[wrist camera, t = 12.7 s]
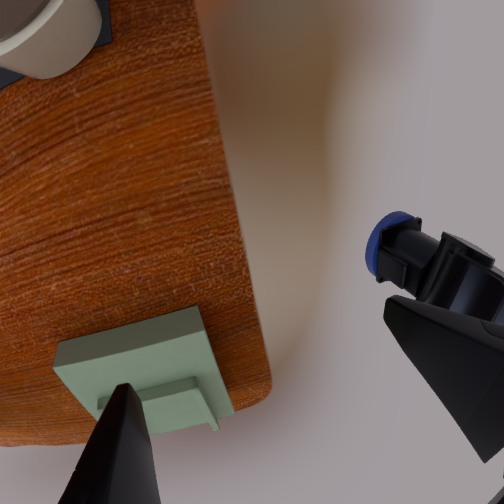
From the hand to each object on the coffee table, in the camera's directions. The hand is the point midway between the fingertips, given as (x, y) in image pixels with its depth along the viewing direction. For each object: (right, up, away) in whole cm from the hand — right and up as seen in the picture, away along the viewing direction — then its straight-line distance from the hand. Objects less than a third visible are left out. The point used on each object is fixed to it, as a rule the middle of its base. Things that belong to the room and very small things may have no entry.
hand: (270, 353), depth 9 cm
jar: (-12, +16, +1) cm, 20 cm away
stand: (-9, -7, +14) cm, 18 cm away
